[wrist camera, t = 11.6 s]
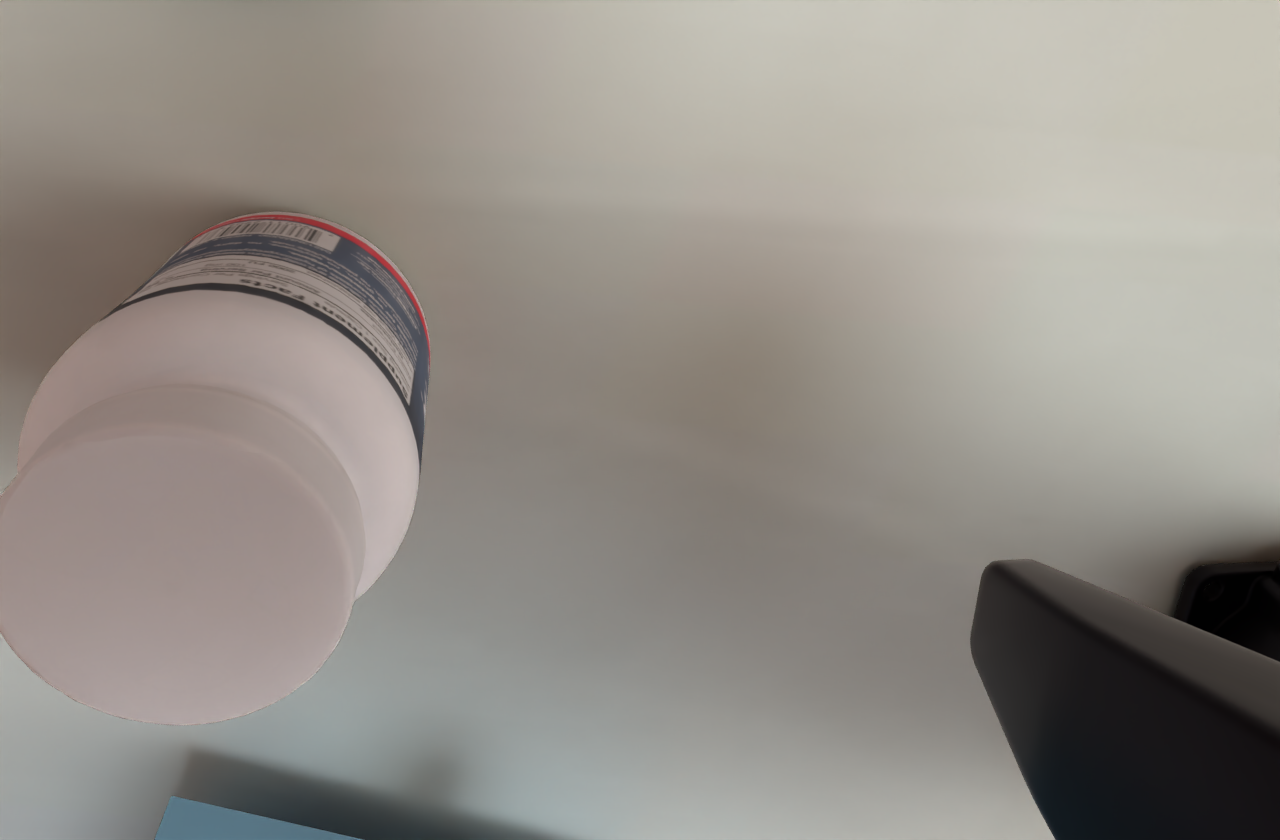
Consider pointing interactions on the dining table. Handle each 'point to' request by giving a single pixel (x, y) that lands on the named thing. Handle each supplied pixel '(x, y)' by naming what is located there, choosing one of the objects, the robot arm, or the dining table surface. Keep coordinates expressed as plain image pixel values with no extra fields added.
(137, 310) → the pill bottle
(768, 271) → the dining table surface
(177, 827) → the teapot
